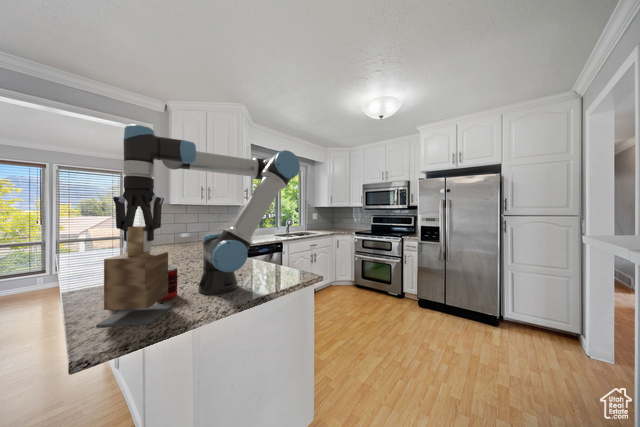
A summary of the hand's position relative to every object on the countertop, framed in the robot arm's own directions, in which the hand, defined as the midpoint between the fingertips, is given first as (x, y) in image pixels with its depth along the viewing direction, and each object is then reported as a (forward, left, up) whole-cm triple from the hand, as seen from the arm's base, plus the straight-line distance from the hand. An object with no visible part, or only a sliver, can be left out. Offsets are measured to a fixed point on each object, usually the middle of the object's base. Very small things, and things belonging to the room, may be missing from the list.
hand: (139, 251), depth 75 cm
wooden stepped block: (0, 0, -16) cm, 16 cm away
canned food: (0, -16, -20) cm, 26 cm away
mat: (0, 0, -20) cm, 20 cm away
